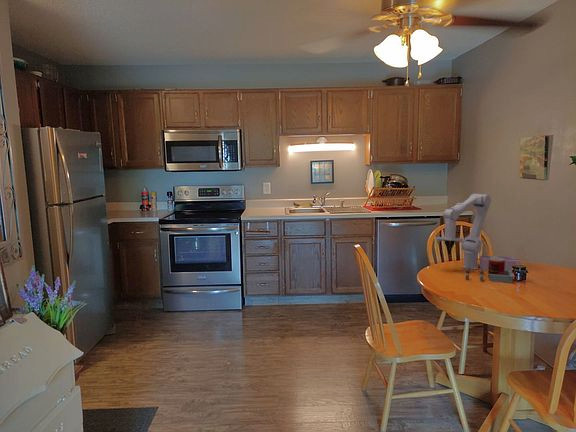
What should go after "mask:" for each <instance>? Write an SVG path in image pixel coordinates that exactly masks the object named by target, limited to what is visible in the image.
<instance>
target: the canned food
mask: <svg viewBox="0 0 576 432" xmlns="http://www.w3.org/2000/svg"><path fill="white" fill-rule="evenodd" d="M504 270H505V259H504V258H499V257H490V258H489V268H488V270H487V275H488V276H487V277H488V279H489V274H497V275H504Z"/></svg>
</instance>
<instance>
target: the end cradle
mask: <svg viewBox="0 0 576 432" xmlns="http://www.w3.org/2000/svg"><path fill="white" fill-rule="evenodd" d="M513 277H514V276H513V273H512V272H511V270H504V275H497V274H489V278H488V281H489V282H497V283H504V284H505V283H506V284H513V279H514V278H513Z"/></svg>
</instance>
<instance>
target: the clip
mask: <svg viewBox="0 0 576 432" xmlns="http://www.w3.org/2000/svg"><path fill="white" fill-rule="evenodd" d="M490 257H499V258H504V259H505V270H511V272H512V266H514V265H518V266H519V267H520V263H521V261H520V259H519V257H512V256H509V255H508V256H506V255H480V256H479V270H480V269H481V268H483V271H488V268H489V258H490Z"/></svg>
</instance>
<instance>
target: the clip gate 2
mask: <svg viewBox="0 0 576 432" xmlns="http://www.w3.org/2000/svg"><path fill="white" fill-rule="evenodd" d="M479 274H480V275H479V282H484V276H485V275H484V270H483V268H481V269H480V268H479Z"/></svg>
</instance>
